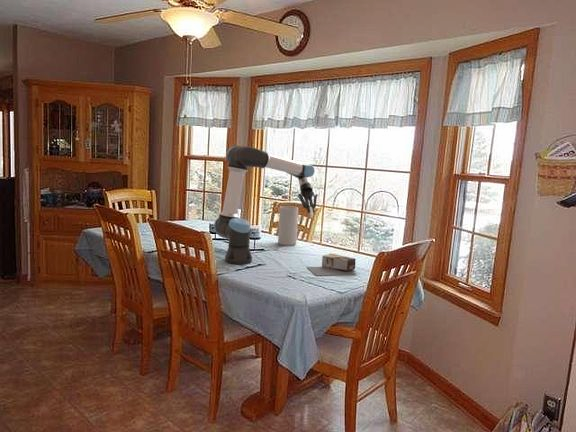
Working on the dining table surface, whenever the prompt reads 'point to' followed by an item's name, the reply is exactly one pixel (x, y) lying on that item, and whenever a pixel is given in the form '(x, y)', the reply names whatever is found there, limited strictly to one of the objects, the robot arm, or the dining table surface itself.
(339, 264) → the coffee box
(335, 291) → the dining table surface
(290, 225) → the cylinder vase
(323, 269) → the mat
